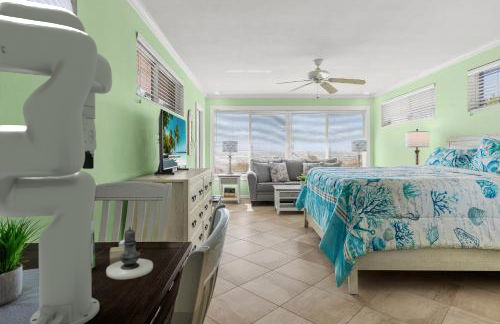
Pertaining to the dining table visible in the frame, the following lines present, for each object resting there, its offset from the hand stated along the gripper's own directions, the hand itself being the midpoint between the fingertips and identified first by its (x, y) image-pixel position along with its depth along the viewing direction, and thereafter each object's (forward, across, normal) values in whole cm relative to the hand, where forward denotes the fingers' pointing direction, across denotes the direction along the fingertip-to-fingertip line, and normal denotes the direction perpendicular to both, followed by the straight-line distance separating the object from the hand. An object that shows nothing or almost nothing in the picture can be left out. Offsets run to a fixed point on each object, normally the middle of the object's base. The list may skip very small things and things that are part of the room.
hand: (81, 169), depth 88 cm
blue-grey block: (+30, +13, -9) cm, 34 cm away
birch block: (+30, +5, -9) cm, 32 cm away
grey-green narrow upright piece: (+30, -1, 0) cm, 30 cm away
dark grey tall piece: (+29, -4, -15) cm, 33 cm away
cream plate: (+30, -4, -15) cm, 34 cm away
